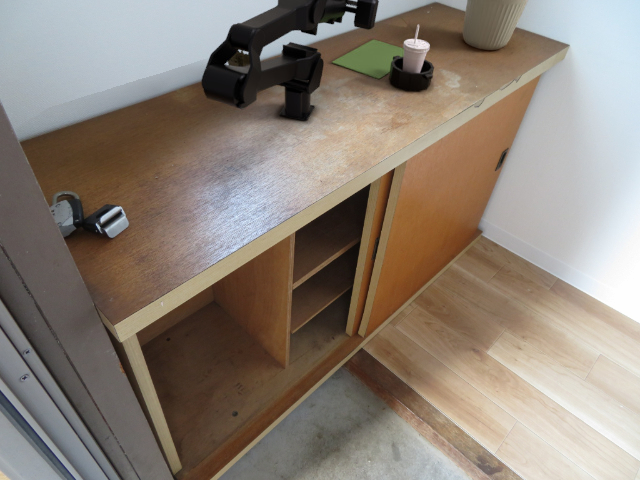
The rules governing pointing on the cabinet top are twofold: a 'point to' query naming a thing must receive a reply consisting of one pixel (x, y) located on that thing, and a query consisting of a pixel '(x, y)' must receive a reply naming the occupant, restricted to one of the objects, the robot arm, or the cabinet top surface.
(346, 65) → the cloth
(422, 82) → the pot
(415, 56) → the smoothie
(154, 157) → the cabinet top surface
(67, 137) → the cabinet top surface
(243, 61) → the cup
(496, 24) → the canister
